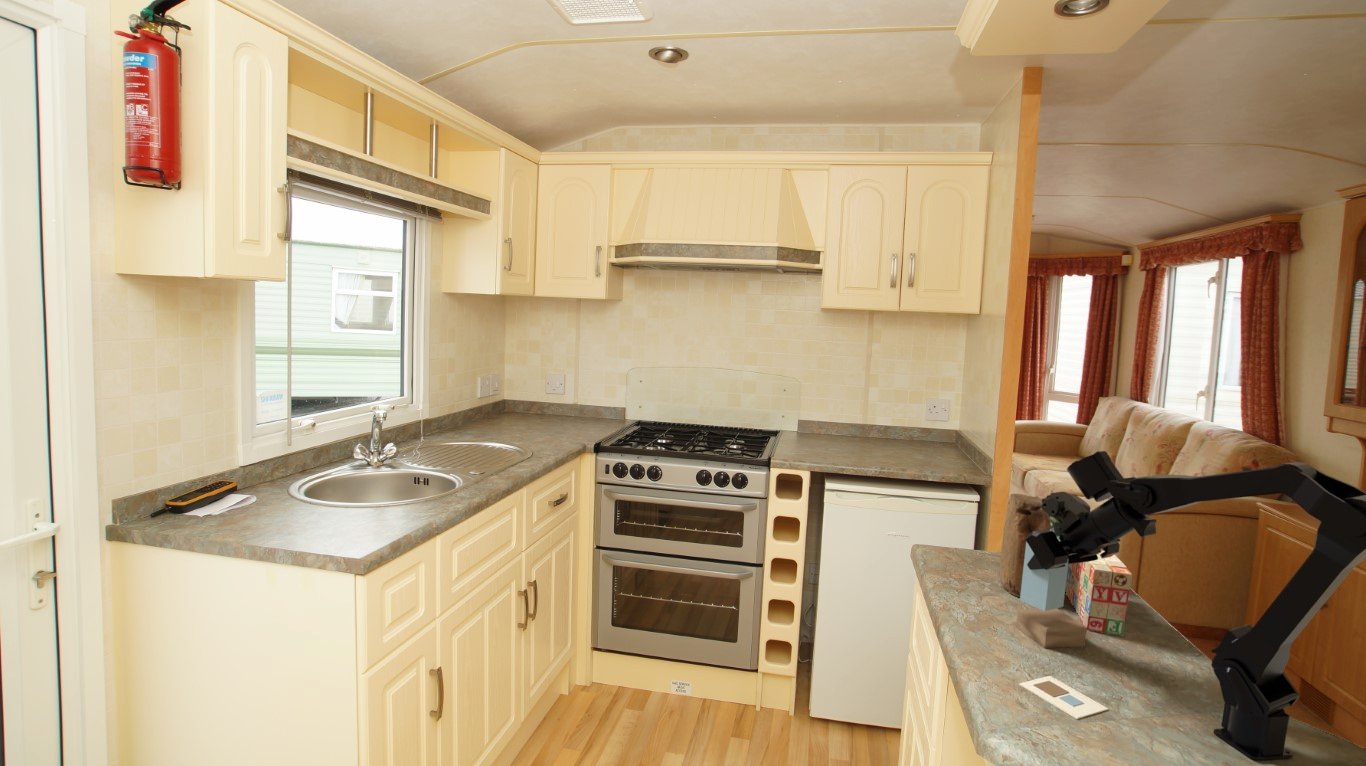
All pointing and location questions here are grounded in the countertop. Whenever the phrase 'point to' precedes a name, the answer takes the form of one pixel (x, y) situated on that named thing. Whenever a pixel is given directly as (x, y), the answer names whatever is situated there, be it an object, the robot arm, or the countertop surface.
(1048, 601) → the blue brick
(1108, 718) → the countertop surface
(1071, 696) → the page
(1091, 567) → the stack of blocks
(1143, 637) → the countertop surface
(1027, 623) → the walnut base
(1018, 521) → the block
